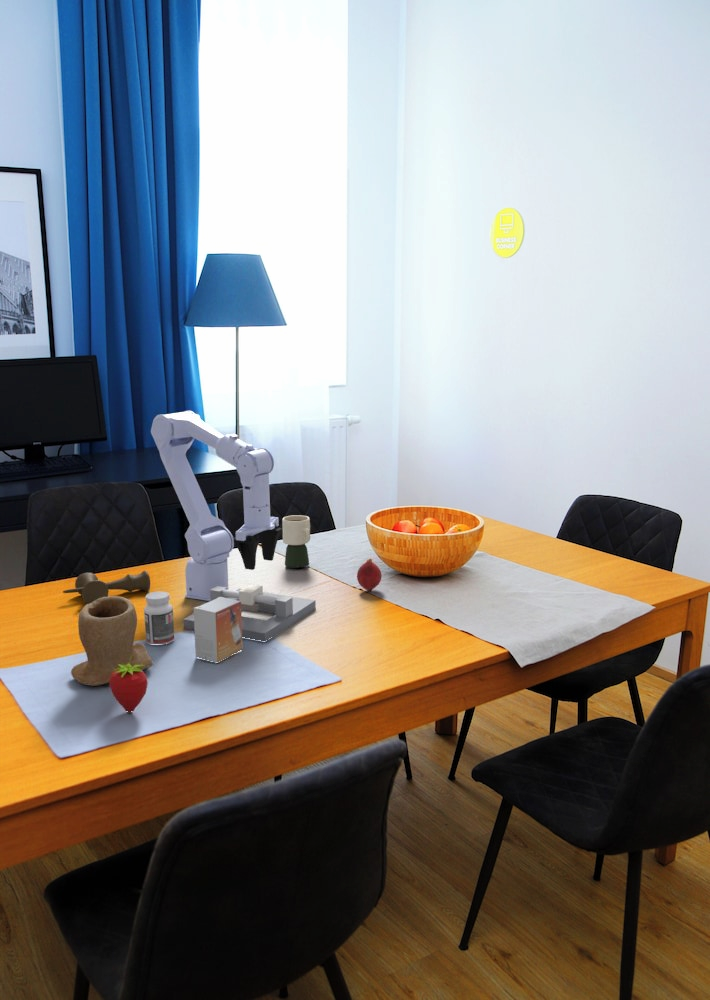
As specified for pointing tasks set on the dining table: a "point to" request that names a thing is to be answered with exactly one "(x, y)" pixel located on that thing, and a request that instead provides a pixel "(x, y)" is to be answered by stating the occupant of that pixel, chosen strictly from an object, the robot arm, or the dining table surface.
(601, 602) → the dining table surface
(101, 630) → the stone cup
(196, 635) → the small box
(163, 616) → the pill bottle
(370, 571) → the onion
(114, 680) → the strawberry
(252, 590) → the white notched u-block
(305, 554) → the character mug
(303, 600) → the grey piece
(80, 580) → the kendama
